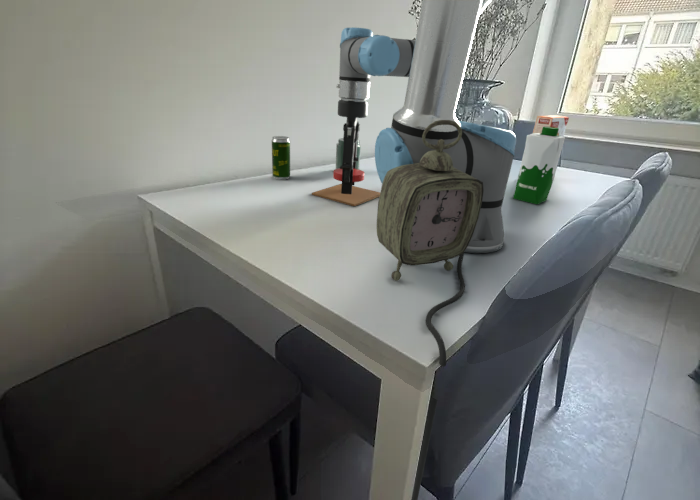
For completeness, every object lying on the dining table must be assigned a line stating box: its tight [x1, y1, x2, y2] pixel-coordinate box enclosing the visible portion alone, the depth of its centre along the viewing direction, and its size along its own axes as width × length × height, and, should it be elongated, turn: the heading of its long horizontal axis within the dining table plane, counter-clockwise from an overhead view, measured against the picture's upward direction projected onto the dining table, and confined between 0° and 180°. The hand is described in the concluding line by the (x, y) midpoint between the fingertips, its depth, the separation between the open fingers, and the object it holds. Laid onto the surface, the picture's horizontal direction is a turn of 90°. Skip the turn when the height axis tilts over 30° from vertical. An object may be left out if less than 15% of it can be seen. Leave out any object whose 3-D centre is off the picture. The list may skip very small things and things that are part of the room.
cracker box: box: [532, 114, 570, 137], centre depth 137 cm, size 14×6×21 cm, turn 132°
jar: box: [334, 137, 362, 170], centre depth 129 cm, size 8×8×10 cm
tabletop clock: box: [376, 120, 484, 282], centre depth 62 cm, size 14×9×25 cm, turn 115°
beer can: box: [271, 135, 291, 181], centre depth 117 cm, size 5×5×12 cm
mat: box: [311, 183, 381, 207], centre depth 106 cm, size 14×14×1 cm
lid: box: [332, 168, 365, 183], centre depth 104 cm, size 8×8×2 cm
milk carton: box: [512, 127, 566, 205], centre depth 109 cm, size 9×9×20 cm
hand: (348, 188), depth 106 cm, fingers closed on lid, 8 cm apart
